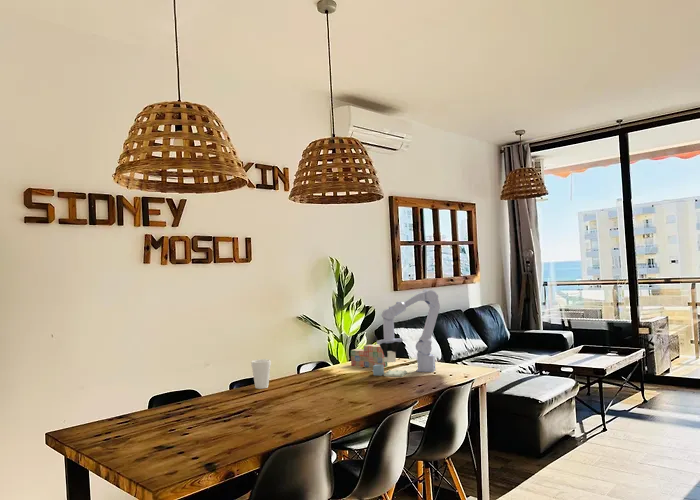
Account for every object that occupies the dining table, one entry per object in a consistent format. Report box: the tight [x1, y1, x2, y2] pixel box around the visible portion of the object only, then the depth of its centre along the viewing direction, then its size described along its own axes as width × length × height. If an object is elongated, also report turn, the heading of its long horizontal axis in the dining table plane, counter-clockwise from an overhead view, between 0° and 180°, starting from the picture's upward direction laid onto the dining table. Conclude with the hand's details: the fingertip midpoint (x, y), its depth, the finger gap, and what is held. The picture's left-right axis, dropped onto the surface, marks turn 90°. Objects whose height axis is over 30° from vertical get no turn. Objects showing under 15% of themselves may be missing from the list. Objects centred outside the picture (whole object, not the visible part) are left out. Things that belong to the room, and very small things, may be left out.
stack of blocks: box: [350, 344, 388, 368], centre depth 311 cm, size 21×6×12 cm, turn 58°
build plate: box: [383, 369, 408, 378], centre depth 282 cm, size 10×10×1 cm
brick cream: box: [384, 350, 397, 363], centre depth 287 cm, size 4×4×5 cm
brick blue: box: [372, 364, 385, 377], centre depth 284 cm, size 4×4×5 cm
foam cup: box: [250, 358, 272, 390], centre depth 263 cm, size 10×9×13 cm
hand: (390, 356), depth 287 cm, fingers closed on brick cream, 4 cm apart
